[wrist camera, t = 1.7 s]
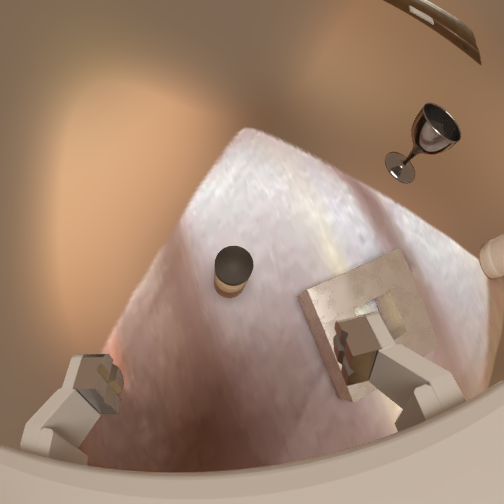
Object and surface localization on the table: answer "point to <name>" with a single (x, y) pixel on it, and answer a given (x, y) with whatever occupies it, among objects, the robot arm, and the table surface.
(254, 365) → the table surface
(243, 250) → the plug
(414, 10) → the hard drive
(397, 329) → the housing
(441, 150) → the wine glass
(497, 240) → the bottle
